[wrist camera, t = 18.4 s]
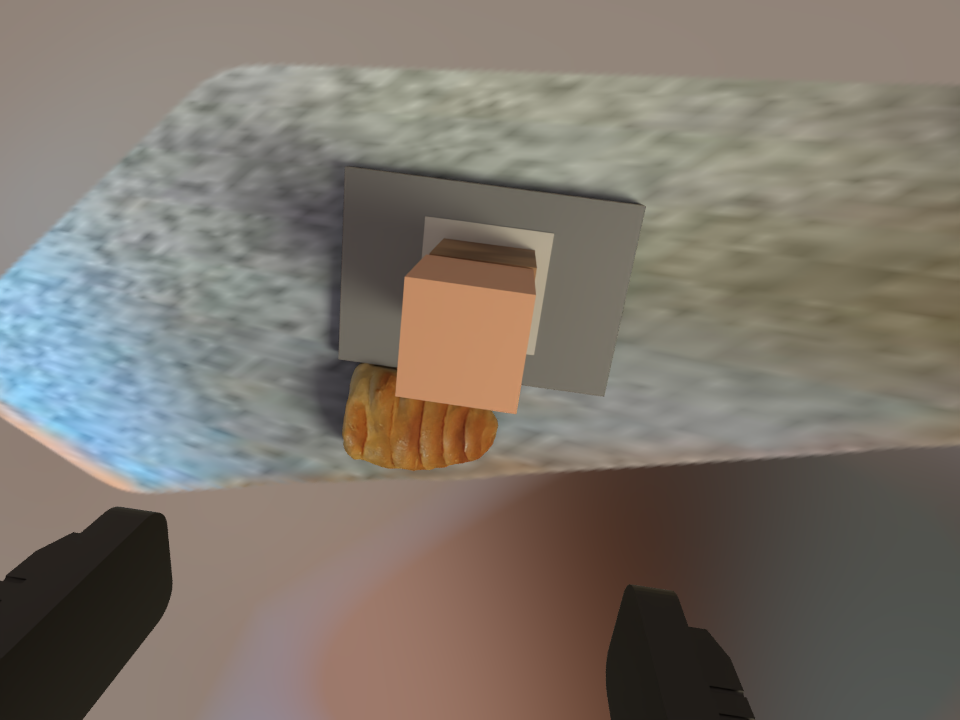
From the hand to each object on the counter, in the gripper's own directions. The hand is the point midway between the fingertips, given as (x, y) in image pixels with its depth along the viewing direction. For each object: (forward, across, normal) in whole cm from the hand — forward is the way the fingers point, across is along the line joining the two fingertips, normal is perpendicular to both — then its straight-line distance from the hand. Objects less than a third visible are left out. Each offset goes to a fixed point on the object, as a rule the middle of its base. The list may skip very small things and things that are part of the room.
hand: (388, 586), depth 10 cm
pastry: (+25, +3, +9) cm, 26 cm away
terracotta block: (+18, 0, 0) cm, 18 cm away
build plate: (+24, 0, 0) cm, 24 cm away
